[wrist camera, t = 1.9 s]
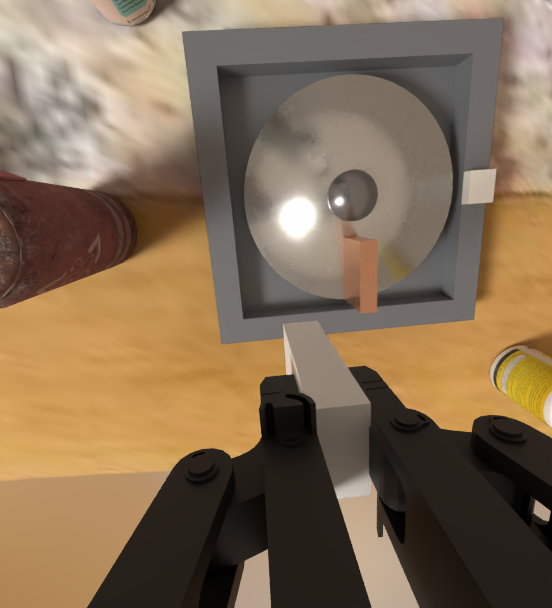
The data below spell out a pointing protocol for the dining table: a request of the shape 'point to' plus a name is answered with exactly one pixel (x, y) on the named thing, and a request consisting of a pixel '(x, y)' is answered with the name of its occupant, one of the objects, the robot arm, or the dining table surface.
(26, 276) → the can
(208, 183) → the dial plate
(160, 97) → the dining table surface
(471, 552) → the robot arm
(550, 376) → the supplement bottle
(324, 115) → the dial
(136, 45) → the dining table surface
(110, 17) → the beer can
